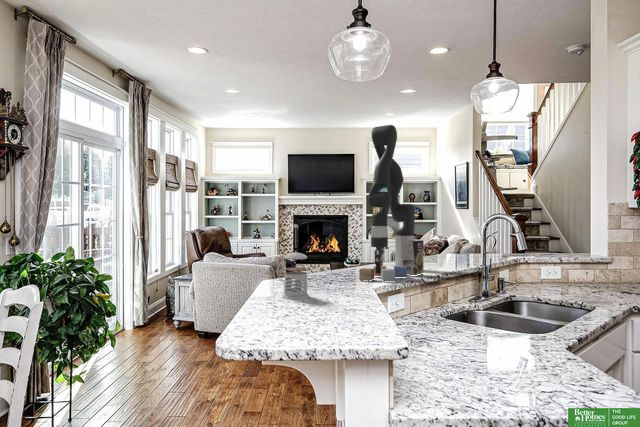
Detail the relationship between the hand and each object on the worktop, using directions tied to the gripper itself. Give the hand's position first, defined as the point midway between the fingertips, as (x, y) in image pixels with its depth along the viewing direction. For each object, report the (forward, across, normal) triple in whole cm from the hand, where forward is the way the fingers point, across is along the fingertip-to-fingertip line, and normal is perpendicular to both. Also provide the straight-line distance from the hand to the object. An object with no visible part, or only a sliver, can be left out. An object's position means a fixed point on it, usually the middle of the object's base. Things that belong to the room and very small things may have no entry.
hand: (379, 272), depth 201 cm
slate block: (+2, +11, +5) cm, 12 cm away
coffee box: (+2, -9, +15) cm, 18 cm away
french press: (+3, +53, -24) cm, 58 cm away
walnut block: (+2, +11, -4) cm, 12 cm away
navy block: (+2, 0, +9) cm, 10 cm away
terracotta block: (+2, 0, 0) cm, 2 cm away
